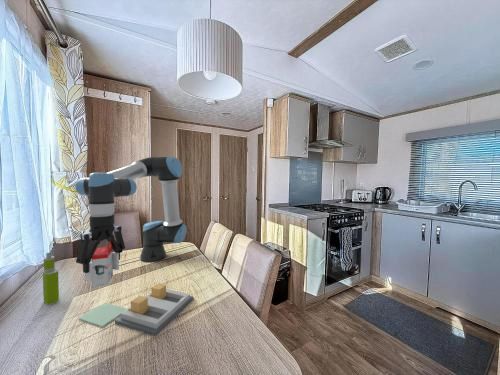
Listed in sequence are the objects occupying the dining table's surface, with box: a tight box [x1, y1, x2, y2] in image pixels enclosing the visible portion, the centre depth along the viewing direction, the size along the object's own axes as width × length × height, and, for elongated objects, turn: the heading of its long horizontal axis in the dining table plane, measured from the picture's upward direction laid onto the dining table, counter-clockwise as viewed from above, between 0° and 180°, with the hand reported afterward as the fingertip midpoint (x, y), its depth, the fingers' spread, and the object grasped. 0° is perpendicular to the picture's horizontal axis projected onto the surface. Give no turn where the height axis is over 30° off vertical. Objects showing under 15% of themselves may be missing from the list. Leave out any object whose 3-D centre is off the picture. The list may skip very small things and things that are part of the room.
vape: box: [42, 252, 60, 306], centre depth 86 cm, size 4×6×20 cm, turn 62°
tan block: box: [151, 283, 167, 299], centre depth 87 cm, size 4×4×5 cm
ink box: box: [91, 241, 114, 288], centre depth 78 cm, size 8×5×15 cm, turn 23°
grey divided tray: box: [114, 288, 195, 337], centre depth 82 cm, size 22×18×3 cm
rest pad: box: [78, 302, 127, 328], centre depth 79 cm, size 10×12×1 cm
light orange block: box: [130, 295, 148, 315], centre depth 78 cm, size 4×4×5 cm
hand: (103, 274), depth 78 cm, fingers closed on ink box, 9 cm apart
